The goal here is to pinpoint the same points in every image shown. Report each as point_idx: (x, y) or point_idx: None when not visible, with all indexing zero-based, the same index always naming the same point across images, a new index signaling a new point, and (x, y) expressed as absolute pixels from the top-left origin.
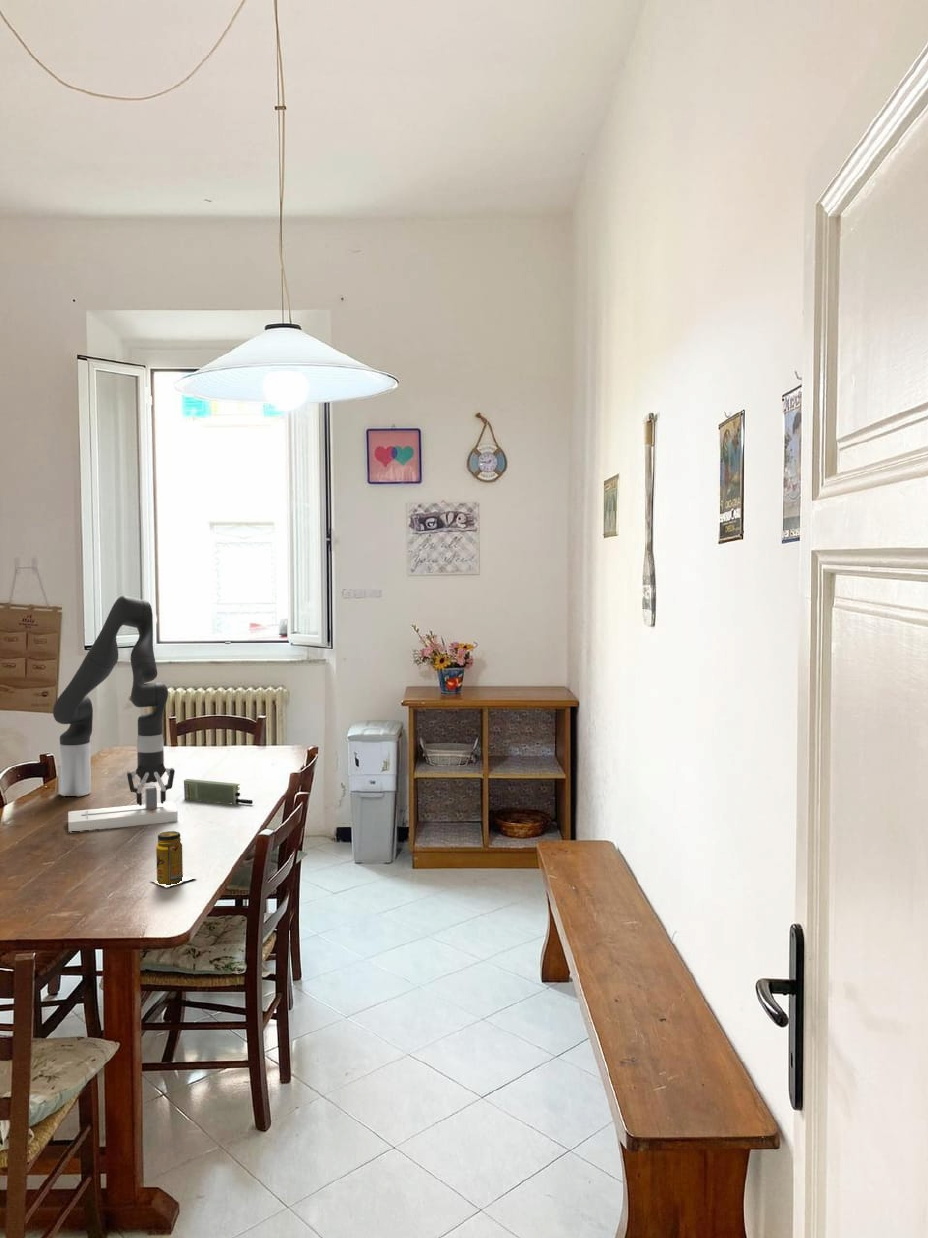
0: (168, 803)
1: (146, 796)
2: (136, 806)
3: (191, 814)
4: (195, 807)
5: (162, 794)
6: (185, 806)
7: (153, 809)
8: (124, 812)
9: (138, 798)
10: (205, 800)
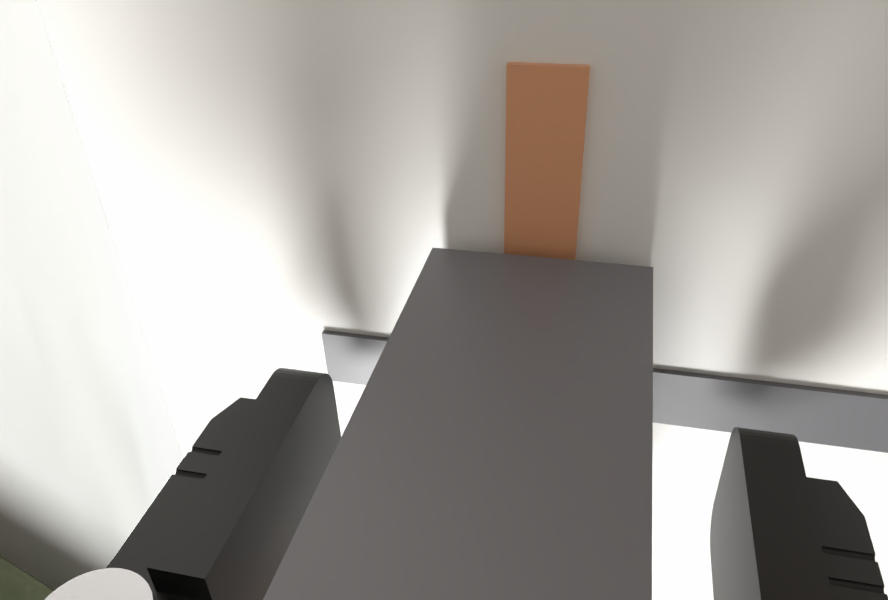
0: None
1: (644, 512)
2: None
3: (29, 230)
4: (56, 458)
5: (204, 512)
6: None
7: None
8: None
9: (838, 596)
10: (7, 574)
